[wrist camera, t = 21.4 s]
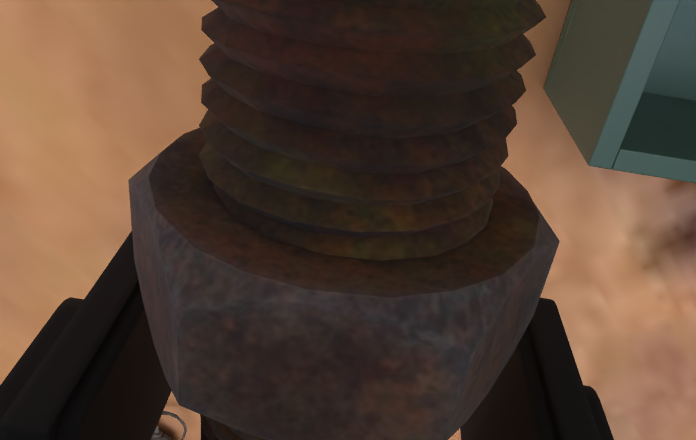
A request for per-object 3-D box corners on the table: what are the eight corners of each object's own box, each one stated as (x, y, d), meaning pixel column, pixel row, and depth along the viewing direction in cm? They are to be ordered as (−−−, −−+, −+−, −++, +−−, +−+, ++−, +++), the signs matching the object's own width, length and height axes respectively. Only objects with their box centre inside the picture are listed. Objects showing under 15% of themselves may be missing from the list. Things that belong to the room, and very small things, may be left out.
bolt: (453, -170, 8) (333, 514, 16) (39, -245, 6) (129, 589, 14) (964, -152, 4) (462, 782, 11) (146, -394, 2) (191, 957, 9)
